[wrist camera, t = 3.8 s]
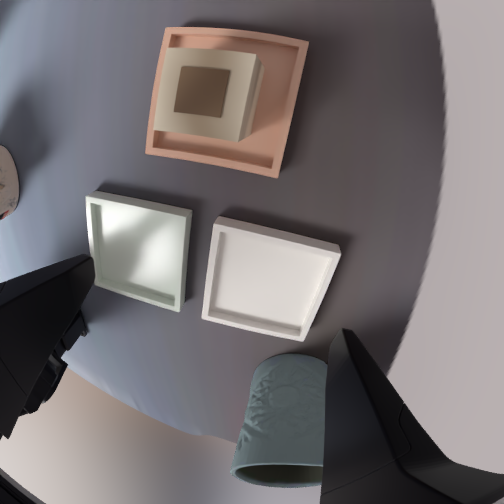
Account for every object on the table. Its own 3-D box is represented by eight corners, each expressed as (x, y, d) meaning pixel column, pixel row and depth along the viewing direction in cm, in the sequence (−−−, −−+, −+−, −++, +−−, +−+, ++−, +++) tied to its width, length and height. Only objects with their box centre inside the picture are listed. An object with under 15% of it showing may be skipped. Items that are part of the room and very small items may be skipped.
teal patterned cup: (282, 334, 25) (270, 456, 15) (359, 369, 26) (370, 471, 16) (232, 381, 30) (211, 474, 19) (302, 408, 31) (297, 492, 21)
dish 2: (154, 150, 18) (145, 153, 17) (174, 32, 14) (165, 27, 13) (278, 173, 18) (277, 178, 17) (307, 46, 14) (309, 41, 12)
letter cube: (183, 124, 17) (152, 130, 13) (195, 58, 14) (166, 45, 10) (250, 134, 16) (237, 142, 12) (265, 66, 14) (256, 52, 10)
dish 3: (205, 308, 25) (201, 318, 23) (218, 215, 20) (213, 223, 19) (303, 330, 24) (303, 341, 23) (338, 244, 20) (341, 254, 19)
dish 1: (102, 277, 25) (94, 285, 24) (95, 190, 20) (85, 195, 19) (184, 302, 25) (179, 312, 23) (192, 210, 20) (186, 217, 19)
